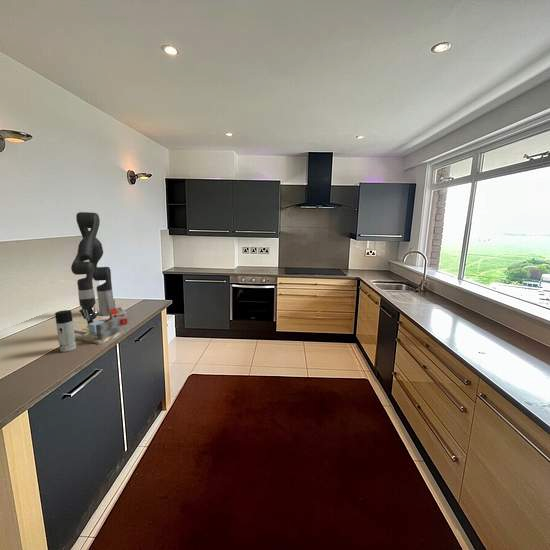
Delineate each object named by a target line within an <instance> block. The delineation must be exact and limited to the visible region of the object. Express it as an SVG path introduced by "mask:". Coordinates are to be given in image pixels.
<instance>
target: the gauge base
mask: <svg viewBox="0 0 550 550" xmlns="http://www.w3.org/2000/svg"><path fill="white" fill-rule="evenodd" d="M96 330H97V334H92V333H90V334H87V335H84V334H86V333H89V328H88V325H87V326H86V327H84V328H81V329H77V330H76V329H74V335H75V340H78V341H83V342H87V343H93V344H97V345H101V344H104V343H105V342H107V341H110V340H113V339H114V338H117V337H119V336H123V335H124V334H125V330H123V329H122V328H121V325H120V320H119V319H118V318H115V319H112V320H110V319H109V320H107V321H103V323H101V324H98V325H96Z"/></svg>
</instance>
